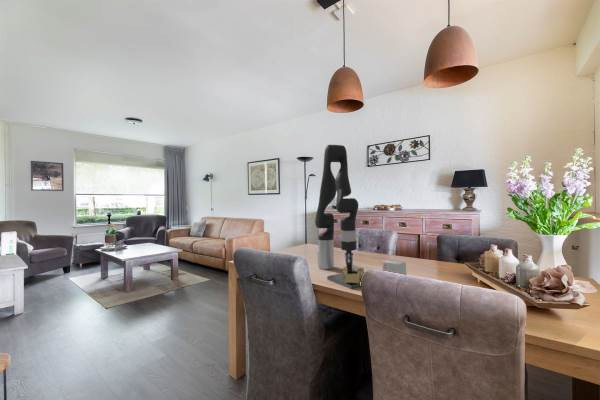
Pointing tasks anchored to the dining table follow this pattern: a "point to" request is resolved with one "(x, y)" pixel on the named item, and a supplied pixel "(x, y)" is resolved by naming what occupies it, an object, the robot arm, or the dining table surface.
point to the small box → (394, 266)
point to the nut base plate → (341, 279)
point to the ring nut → (353, 275)
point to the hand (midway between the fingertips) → (349, 275)
